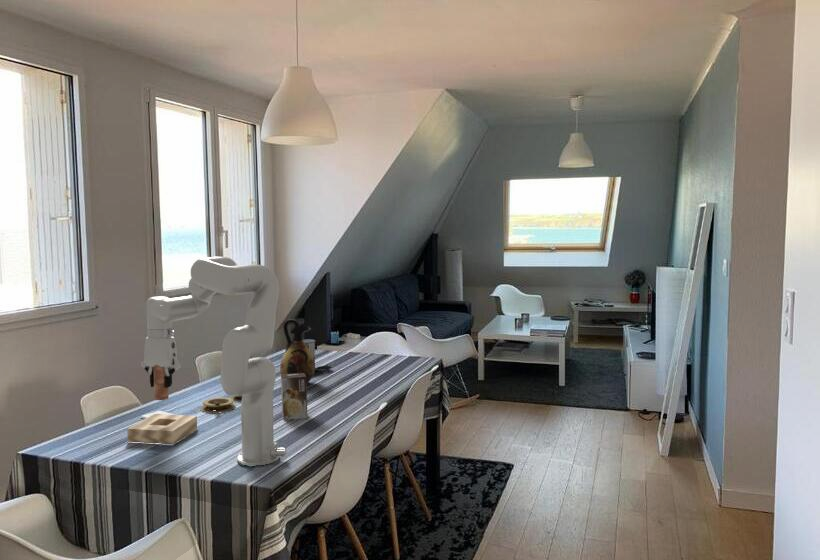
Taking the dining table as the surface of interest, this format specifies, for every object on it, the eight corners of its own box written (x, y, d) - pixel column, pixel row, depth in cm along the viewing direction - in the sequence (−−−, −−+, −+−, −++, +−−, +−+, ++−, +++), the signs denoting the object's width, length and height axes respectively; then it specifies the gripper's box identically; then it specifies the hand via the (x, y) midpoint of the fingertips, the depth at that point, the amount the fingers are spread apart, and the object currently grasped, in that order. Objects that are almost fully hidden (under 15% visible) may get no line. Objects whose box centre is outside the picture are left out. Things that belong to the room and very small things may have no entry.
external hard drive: (161, 425, 219) (141, 419, 226) (180, 419, 226) (160, 414, 233) (161, 421, 219) (140, 415, 226) (180, 415, 226) (160, 409, 233)
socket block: (197, 429, 213) (196, 415, 213) (172, 446, 198) (172, 431, 197) (155, 427, 216) (154, 413, 215) (127, 443, 200) (127, 428, 200)
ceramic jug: (318, 381, 280) (318, 316, 277) (310, 390, 265) (309, 322, 262) (283, 380, 282) (281, 316, 279) (272, 389, 266) (270, 321, 264)
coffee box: (306, 413, 232) (305, 372, 230) (307, 418, 226) (307, 376, 224) (281, 415, 229) (280, 374, 228) (282, 420, 223) (281, 378, 222)
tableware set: (225, 418, 228) (224, 403, 228) (186, 411, 237) (186, 396, 236) (275, 398, 255) (275, 384, 254) (239, 392, 264) (239, 379, 263)
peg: (171, 396, 208) (170, 362, 206) (163, 400, 203) (162, 365, 202) (159, 396, 208) (158, 361, 207) (151, 399, 204) (150, 365, 203)
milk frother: (295, 368, 304) (294, 339, 302) (325, 366, 310) (325, 337, 308) (301, 375, 291) (301, 344, 289) (333, 372, 297) (333, 342, 295)
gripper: (188, 332, 206) (190, 384, 208) (143, 330, 208) (144, 382, 210) (177, 336, 198) (178, 390, 200) (129, 334, 201) (131, 388, 203)
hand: (161, 385), depth 205 cm, fingers closed on peg, 4 cm apart
